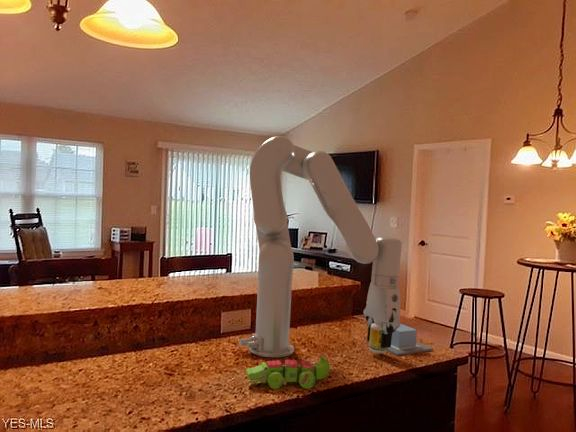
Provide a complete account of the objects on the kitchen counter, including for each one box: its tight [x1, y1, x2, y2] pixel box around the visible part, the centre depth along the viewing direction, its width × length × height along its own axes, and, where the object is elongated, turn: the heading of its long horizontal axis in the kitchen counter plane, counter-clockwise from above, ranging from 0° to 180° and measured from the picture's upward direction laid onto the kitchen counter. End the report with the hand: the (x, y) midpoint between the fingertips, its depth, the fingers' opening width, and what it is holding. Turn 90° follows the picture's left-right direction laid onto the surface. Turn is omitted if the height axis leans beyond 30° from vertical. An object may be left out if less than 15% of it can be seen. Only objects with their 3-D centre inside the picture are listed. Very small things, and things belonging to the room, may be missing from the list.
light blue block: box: [387, 322, 418, 348], centre depth 147 cm, size 6×8×5 cm
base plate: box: [366, 339, 434, 357], centre depth 147 cm, size 14×14×1 cm
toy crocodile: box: [245, 355, 330, 390], centre depth 113 cm, size 20×7×6 cm, turn 99°
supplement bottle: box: [368, 318, 389, 354], centre depth 137 cm, size 5×5×10 cm
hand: (378, 343), depth 137 cm, fingers closed on supplement bottle, 5 cm apart
